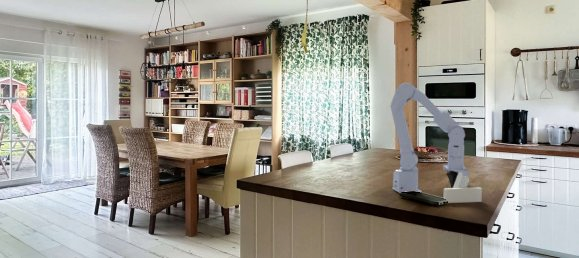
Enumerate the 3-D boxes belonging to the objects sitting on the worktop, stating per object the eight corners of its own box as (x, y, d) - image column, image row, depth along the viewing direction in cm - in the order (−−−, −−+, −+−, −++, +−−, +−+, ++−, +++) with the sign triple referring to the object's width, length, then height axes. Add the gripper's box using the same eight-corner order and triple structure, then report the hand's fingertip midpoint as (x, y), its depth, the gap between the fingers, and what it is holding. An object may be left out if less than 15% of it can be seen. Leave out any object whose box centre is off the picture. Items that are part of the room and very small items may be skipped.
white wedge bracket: (445, 188, 143) (459, 170, 142) (455, 197, 149) (468, 179, 148) (453, 193, 140) (467, 175, 139) (463, 202, 146) (476, 184, 146)
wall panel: (445, 202, 136) (445, 189, 136) (442, 201, 138) (443, 188, 137) (481, 201, 138) (481, 188, 137) (478, 200, 139) (478, 187, 139)
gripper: (476, 159, 140) (475, 194, 141) (455, 154, 155) (454, 186, 156) (459, 159, 140) (458, 195, 140) (438, 154, 154) (438, 187, 155)
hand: (454, 190), depth 148 cm, fingers closed
